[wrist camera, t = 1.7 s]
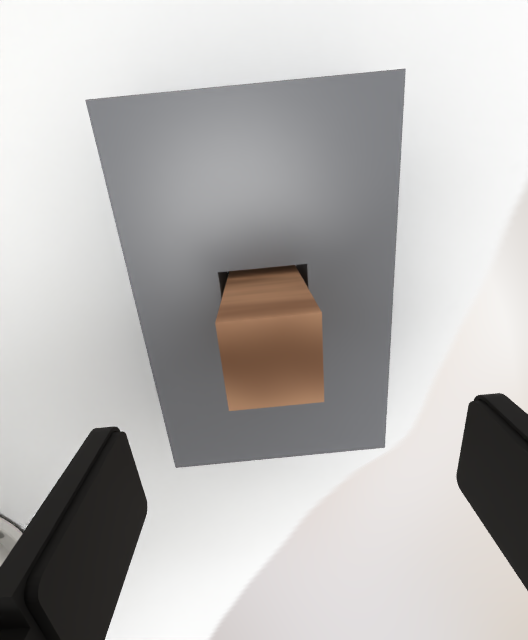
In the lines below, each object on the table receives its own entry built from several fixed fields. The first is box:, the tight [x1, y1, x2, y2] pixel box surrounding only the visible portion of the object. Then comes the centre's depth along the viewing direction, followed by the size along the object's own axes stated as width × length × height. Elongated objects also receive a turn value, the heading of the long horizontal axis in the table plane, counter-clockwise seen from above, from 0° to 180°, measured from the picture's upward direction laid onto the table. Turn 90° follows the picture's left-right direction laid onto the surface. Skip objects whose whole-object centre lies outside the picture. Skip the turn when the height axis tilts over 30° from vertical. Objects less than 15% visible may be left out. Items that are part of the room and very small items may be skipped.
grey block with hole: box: [86, 69, 405, 468], centre depth 24 cm, size 24×16×6 cm, turn 5°
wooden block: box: [215, 265, 324, 411], centre depth 20 cm, size 4×4×13 cm
